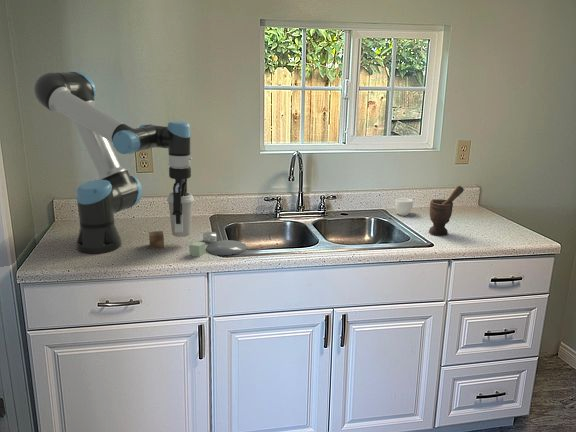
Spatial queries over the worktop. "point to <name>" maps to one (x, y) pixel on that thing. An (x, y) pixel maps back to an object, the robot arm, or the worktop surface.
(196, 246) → the sage block
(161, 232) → the walnut block
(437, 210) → the mortar and pestle
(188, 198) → the coffee cup
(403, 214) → the cup
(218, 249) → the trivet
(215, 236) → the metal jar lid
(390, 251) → the worktop surface
